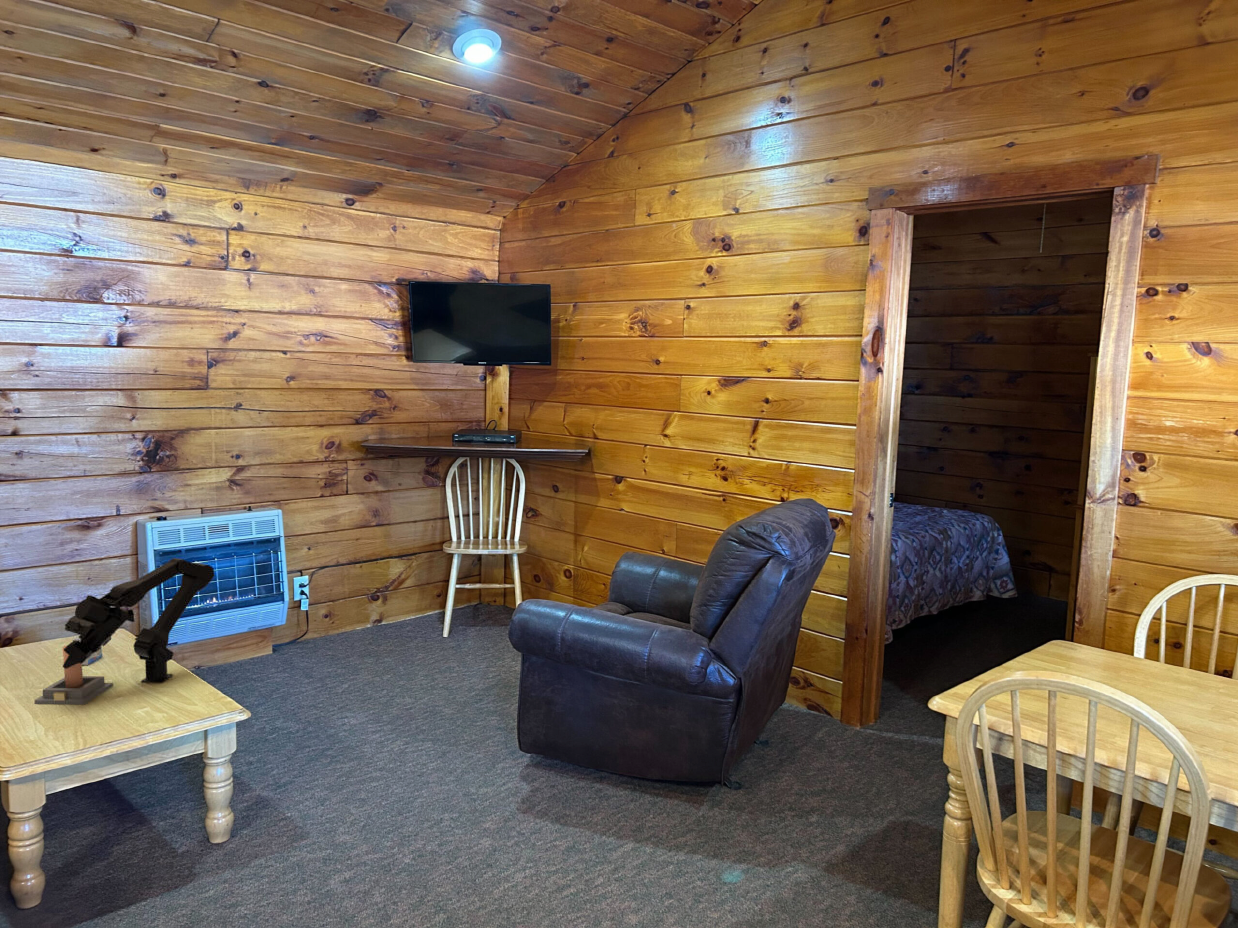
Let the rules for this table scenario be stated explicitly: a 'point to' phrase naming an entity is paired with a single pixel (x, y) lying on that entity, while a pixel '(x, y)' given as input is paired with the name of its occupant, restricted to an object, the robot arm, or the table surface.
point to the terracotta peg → (73, 674)
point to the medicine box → (93, 656)
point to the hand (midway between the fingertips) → (67, 664)
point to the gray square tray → (74, 691)
